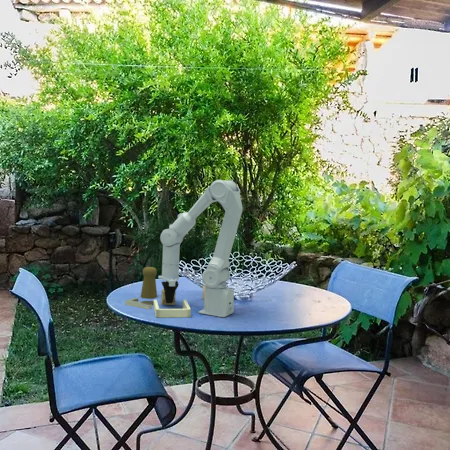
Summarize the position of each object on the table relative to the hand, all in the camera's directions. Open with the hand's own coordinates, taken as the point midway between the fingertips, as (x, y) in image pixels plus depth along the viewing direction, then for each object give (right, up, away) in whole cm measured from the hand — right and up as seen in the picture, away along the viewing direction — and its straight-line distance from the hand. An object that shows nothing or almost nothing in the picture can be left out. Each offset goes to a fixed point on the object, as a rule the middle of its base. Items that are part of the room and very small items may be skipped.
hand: (169, 302), depth 172 cm
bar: (-9, -1, -1) cm, 9 cm away
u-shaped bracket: (+1, -2, -7) cm, 7 cm away
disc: (-8, -1, +2) cm, 8 cm away
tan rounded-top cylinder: (+13, -1, +13) cm, 18 cm away
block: (-1, -1, +4) cm, 4 cm away
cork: (-9, 0, +12) cm, 15 cm away
